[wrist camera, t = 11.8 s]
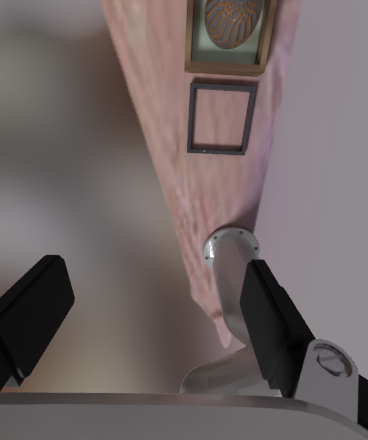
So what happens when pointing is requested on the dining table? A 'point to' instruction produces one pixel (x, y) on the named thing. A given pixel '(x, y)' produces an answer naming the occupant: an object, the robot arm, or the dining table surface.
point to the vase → (231, 21)
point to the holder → (221, 58)
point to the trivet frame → (247, 121)
